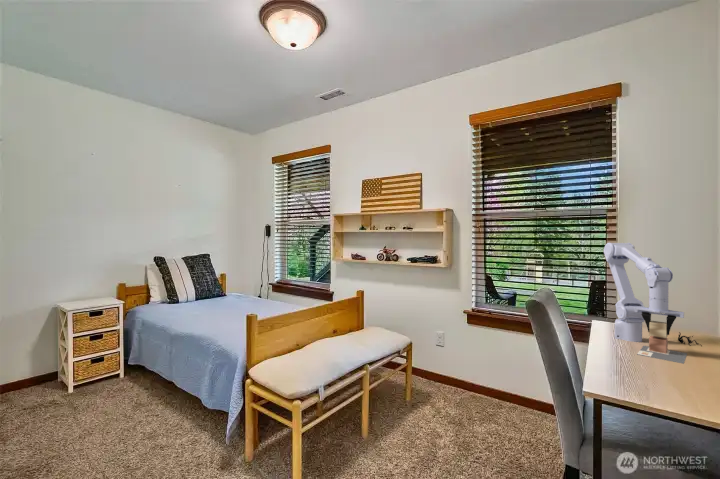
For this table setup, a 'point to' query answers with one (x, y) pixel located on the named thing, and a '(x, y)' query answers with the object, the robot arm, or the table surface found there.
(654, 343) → the rust block
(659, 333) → the maple block
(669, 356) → the build board
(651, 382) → the table surface
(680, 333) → the creature
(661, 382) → the table surface
